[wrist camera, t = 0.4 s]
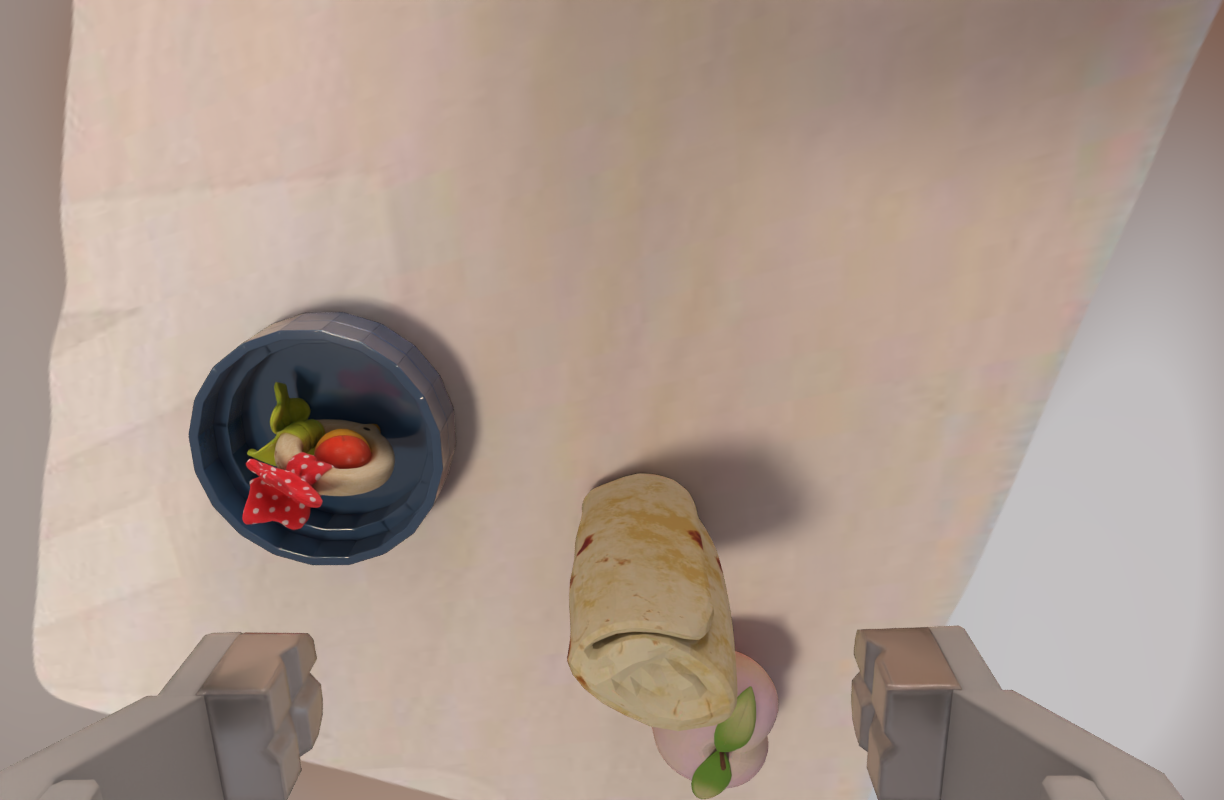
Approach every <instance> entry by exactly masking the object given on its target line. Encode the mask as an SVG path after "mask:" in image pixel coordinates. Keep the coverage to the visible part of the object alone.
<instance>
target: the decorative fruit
mask: <svg viewBox="0 0 1224 800" xmlns="http://www.w3.org/2000/svg"><path fill="white" fill-rule="evenodd" d="M735 656H736V671H737V688H738V692H737V706H736V707H735V709H734V711H733V713H732V715H731V716H730V717H729V718H728V719H727V720H726V721H724V722H722V723H719V724H717V725H714V726H708V727H702V728H696V729H689V730H682V731H674V730H668V729H663V728H657V727H652V729H653V734H654V739H655V742H656V745H657V748H658V750H659V752H660V754H661V755H662V757H663V759H664V760H665V761H666V763H667V764H668V765H669V766H670V767H671V768H672V769H673V770H675V771H676V772H677V773H679V774H681V775H682V776H684V777H686V778H688V779H689V780H691V781H692V783H691V786H692V791H693V793H694V795H695V796H696V797H698V798H700V799H708V798H712V797H714V796H716V795H718V794H719V793H721V792H722V791H723V790H724V789H726V788H732V787H736V786H739V785H742V784H744V783H746V782H748V781H749V780H750V779H752V778H753V777H754V776H755V775H756V774H757V773H758V771H759V770H760V769H761V767H762V766H763V764H764V762H765V759H766V756H767V752H768V738H767V735H768V734H769V733H770V731H771V729H772V727H773V725H774V723H775V720H776V717H777V713H778V697H777V692H776V689H775V686H774V684H773V682H772V680H771V678H770V677H769V675H768V674H767V673H766V671H765V670H764V669H763V668H762V667H761V666H760V665H759V664H758V663H757V662H755V661H754V660H753V659H751V658H750V657H748V656H746V655H744V654H742V653H740V652H737V651H735Z"/></svg>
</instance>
